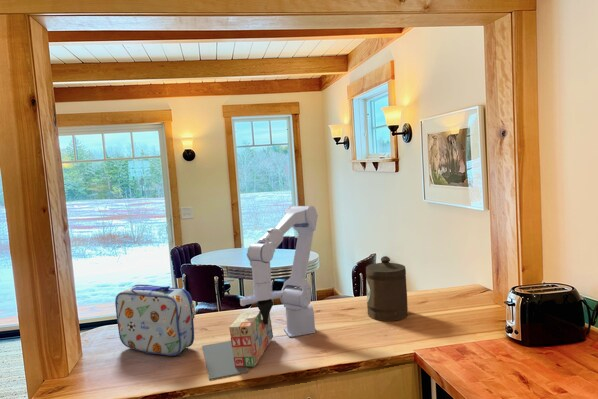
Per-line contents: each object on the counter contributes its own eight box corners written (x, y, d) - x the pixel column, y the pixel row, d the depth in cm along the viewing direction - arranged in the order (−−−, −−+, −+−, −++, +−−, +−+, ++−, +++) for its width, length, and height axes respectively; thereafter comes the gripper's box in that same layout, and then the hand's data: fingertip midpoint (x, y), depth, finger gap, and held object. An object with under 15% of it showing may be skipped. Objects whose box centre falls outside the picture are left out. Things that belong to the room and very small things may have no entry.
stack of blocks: (255, 338, 149) (250, 302, 148) (273, 337, 148) (268, 301, 147) (234, 367, 128) (228, 326, 127) (255, 366, 127) (249, 325, 126)
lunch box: (203, 347, 145) (198, 281, 143) (184, 361, 135) (179, 291, 133) (137, 339, 155) (132, 277, 153) (115, 351, 145) (109, 286, 143)
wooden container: (378, 305, 176) (375, 251, 174) (413, 311, 167) (411, 254, 165) (360, 317, 164) (358, 259, 162) (398, 324, 155) (395, 262, 154)
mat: (235, 341, 148) (235, 339, 148) (248, 372, 125) (248, 371, 125) (202, 346, 145) (202, 345, 145) (209, 380, 122) (209, 378, 122)
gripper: (278, 274, 144) (281, 315, 145) (235, 282, 138) (238, 324, 139) (287, 279, 138) (289, 321, 139) (242, 287, 131) (246, 331, 132)
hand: (264, 323), depth 138 cm, fingers closed, pressing on stack of blocks
